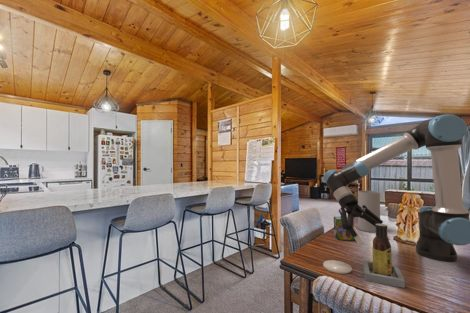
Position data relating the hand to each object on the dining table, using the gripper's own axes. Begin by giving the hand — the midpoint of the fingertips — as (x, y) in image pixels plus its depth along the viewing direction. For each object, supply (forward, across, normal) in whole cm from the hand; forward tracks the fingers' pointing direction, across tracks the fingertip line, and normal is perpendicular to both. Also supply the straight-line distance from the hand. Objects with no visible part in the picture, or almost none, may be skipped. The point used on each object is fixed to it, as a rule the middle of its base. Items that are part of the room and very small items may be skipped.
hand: (375, 242), depth 91 cm
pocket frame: (+10, -1, -7) cm, 13 cm away
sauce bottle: (+10, -1, -7) cm, 13 cm away
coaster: (+2, +10, -15) cm, 19 cm away
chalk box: (-18, -21, -36) cm, 46 cm away
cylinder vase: (-23, -50, -42) cm, 69 cm away
